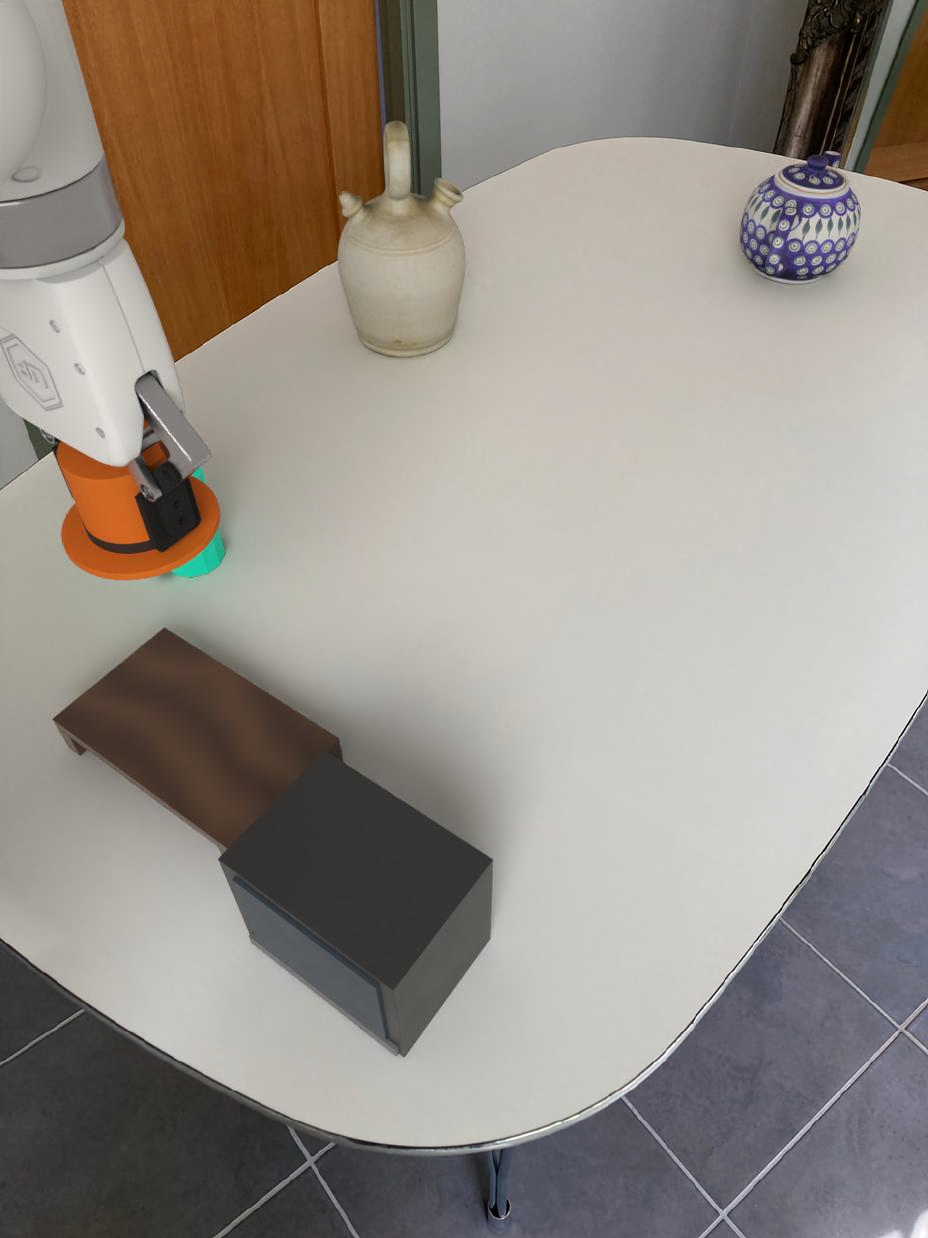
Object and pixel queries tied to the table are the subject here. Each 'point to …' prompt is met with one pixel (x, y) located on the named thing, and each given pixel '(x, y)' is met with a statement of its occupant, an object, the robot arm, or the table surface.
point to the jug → (402, 259)
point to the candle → (208, 556)
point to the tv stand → (194, 736)
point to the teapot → (801, 221)
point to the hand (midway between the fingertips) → (136, 510)
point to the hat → (123, 519)
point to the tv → (362, 899)
